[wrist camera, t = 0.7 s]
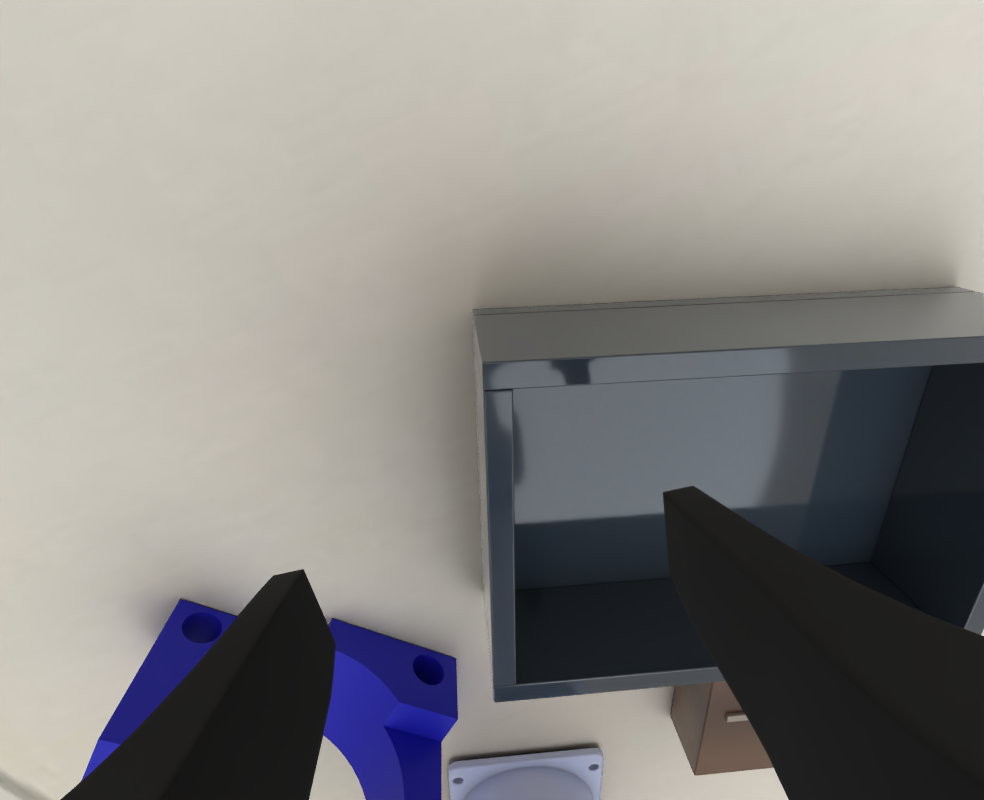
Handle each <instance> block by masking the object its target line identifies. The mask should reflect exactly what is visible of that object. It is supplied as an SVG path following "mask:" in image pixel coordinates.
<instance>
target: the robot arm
mask: <svg viewBox="0 0 984 800" xmlns="http://www.w3.org/2000/svg"><path fill="white" fill-rule="evenodd" d="M663 503H664V515H665V527H666V539H667V551H668V563H669V573H670V575H671V578H672V580H673V582H674V585H675V587H676V589H677V592H678V594H679V596H680V599H681V601H682V603H683V605H684V608H685V610H686V612H687V614H688V616H689V619H690V621H691V622H692V624H693V626H694V628H695V629H696V631H697V633H698V635H699V636H700V638H701V640H702V642H703V643H704V645H705V647H706V648H707V650H708V652H709V654H710V655H711V657H712V659H713V660H714V662H715V664H716V666H717V667H718V669H719V671H720V672H721V674H722V676H723V677H724V679H725V681H726V683H727V684H728V686H729V688H730V689H731V691H732V693H733V695H734V696H735V698H736V700H737V701H738V703H739V705H740V706H741V708H742V710H743V712H744V713H745V715H746V717H747V718H748V720H749V722H750V723H751V725H752V727H753V729H754V730H755V732H756V734H757V736H758V738H759V740H760V742H761V743H762V745H763V747H764V749H765V751H766V753H767V755H768V757H769V759H770V761H771V763H772V765H773V767H774V769H775V771H776V773H777V776H778V778H779V780H780V782H781V784H782V786H783V788H784V790H785V792H786V795H787V797H788V799H789V800H984V636H982V635H979V634H977V633H974V632H971V631H969V630H966V629H964V628H961V627H959V626H956V625H953V624H951V623H948V622H946V621H943V620H940V619H938V618H936V617H933V616H931V615H928V614H926V613H924V612H921V611H919V610H916V609H914V608H912V607H909V606H907V605H905V604H903V603H901V602H898V601H896V600H894V599H892V598H890V597H887V596H885V595H883V594H881V593H879V592H877V591H874V590H872V589H870V588H868V587H866V586H864V585H862V584H859V583H857V582H855V581H853V580H851V579H849V578H847V577H845V576H843V575H841V574H840V573H838V572H836V571H834V570H832V569H830V568H828V567H826V566H825V565H823V564H821V563H819V562H817V561H815V560H813V559H812V558H810V557H808V556H806V555H804V554H802V553H801V552H799V551H797V550H795V549H794V548H792V547H790V546H788V545H787V544H785V543H783V542H782V541H780V540H778V539H777V538H775V537H773V536H772V535H770V534H768V533H767V532H765V531H763V530H762V529H760V528H759V527H757V526H755V525H754V524H752V523H751V522H749V521H747V520H746V519H744V518H743V517H741V516H740V515H738V514H736V513H735V512H733V511H732V510H730V509H729V508H727V507H726V506H724V505H723V504H721V503H720V502H718V501H716V500H715V499H713V498H712V497H710V496H709V495H707V494H706V493H704V492H703V491H701V490H700V489H698V488H696V487H695V486H689V487H684V488H680V489H675V490H670V491H666V492H663ZM335 650H336V642H335V640H334V638H333V635H332V633H331V631H330V629H329V626H328V624H327V622H326V619H325V617H324V615H323V613H322V610H321V608H320V606H319V604H318V601H317V599H316V597H315V594H314V592H313V590H312V588H311V585H310V583H309V581H308V579H307V576H306V574H305V572H304V569H302V570H298V571H293V572H288V573H284V574H279V575H274V576H273V577H272V578H271V579H270V580H269V581H268V582H267V583H266V584H265V585H264V586H263V587H262V589H261V590H260V591H259V592H258V593H257V594H256V595H255V597H254V598H253V599H252V600H251V601H250V602H249V604H248V605H247V606H246V607H245V608H244V610H243V611H242V612H241V613H240V614H239V615H238V617H237V618H236V619H235V620H234V621H233V623H232V624H231V625H230V626H229V627H228V628H227V630H226V631H225V632H224V633H223V634H222V635H221V637H220V638H219V639H218V640H217V641H216V642H215V644H214V645H213V646H212V647H211V648H210V649H209V650H208V652H207V653H206V654H205V655H204V656H203V657H202V659H201V660H200V661H199V662H198V663H197V664H196V665H195V667H194V668H193V669H192V670H191V671H190V672H189V673H188V674H187V675H186V676H185V677H184V679H183V680H182V681H181V682H180V683H179V684H178V685H177V686H176V687H175V688H174V689H173V690H172V692H171V693H170V694H169V695H168V696H167V697H166V698H165V699H164V700H163V701H162V702H161V703H160V705H159V706H158V707H157V708H156V709H155V710H154V711H153V712H152V713H151V714H150V715H149V716H148V717H147V718H146V719H145V720H144V721H143V723H142V724H141V725H140V726H139V727H138V728H137V729H136V730H135V731H134V732H133V733H132V734H131V735H130V736H129V737H128V738H127V739H126V740H125V741H124V742H123V743H122V744H121V745H120V746H118V747H117V748H116V749H115V750H114V751H113V752H112V753H111V754H110V755H109V756H108V757H107V758H106V759H105V760H104V761H103V762H102V763H101V764H99V765H98V766H97V767H96V768H95V769H94V770H93V771H92V772H91V773H90V774H89V775H88V776H87V777H86V778H85V779H83V780H82V781H81V782H80V783H79V784H78V785H77V786H76V787H75V788H74V789H72V790H71V791H70V792H69V793H68V794H67V795H65V796H64V797H63V798H62V799H61V800H309V796H310V792H311V787H312V783H313V778H314V774H315V769H316V765H317V760H318V756H319V751H320V747H321V742H322V738H323V733H324V728H325V724H326V719H327V714H328V710H329V705H330V700H331V694H332V684H333V675H334V663H335ZM603 760H604V759H603V755H602V751H601V750H600V749H598V748H586V749H575V750H565V751H555V752H545V753H535V754H525V755H514V756H504V757H494V758H484V759H474V760H464V761H456V762H453V763H451V764H450V765H449V766H448V781H449V792H450V800H600V794H601V783H602V771H603Z"/></svg>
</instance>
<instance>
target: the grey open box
mask: <svg viewBox="0 0 984 800" xmlns="http://www.w3.org/2000/svg"><path fill="white" fill-rule="evenodd" d="M472 323H473V348H474V372H475V396H476V421H477V445H478V469H479V493H480V518H481V542H482V566H483V591H484V603H485V613H486V624H487V635H488V645H489V656H490V667H491V677H492V688H493V699H494V702H505V701H516V700H527V699H538V698H549V697H560V696H571V695H582V694H592V693H603V692H614V691H625V690H636V689H647V688H658V687H669V686H679V685H690V684H701V683H712V682H723V681H725V679H724V677H723V676H722V674H721V672H720V671H719V669H718V667H717V666H716V664H715V662H714V660H713V659H712V657H711V655H710V654H709V652H708V650H707V648H706V647H705V645H704V643H703V642H702V640H701V638H700V636H699V635H698V633H697V631H696V629H695V628H694V626H693V624H692V622H691V621H690V619H689V616H688V614H687V612H686V610H685V608H684V605H683V603H682V601H681V599H680V596H679V594H678V592H677V589H676V587H675V585H674V582H673V580H672V578H671V575H670V573H669V563H668V551H667V539H666V527H665V515H664V503H663V492H666V491H670V490H675V489H680V488H684V487H689V486H695V487H696V488H698V489H700V490H701V491H703V492H704V493H706V494H707V495H709V496H710V497H712V498H713V499H715V500H716V501H718V502H720V503H721V504H723V505H724V506H726V507H727V508H729V509H730V510H732V511H733V512H735V513H736V514H738V515H740V516H741V517H743V518H744V519H746V520H747V521H749V522H751V523H752V524H754V525H755V526H757V527H759V528H760V529H762V530H763V531H765V532H767V533H768V534H770V535H772V536H773V537H775V538H777V539H778V540H780V541H782V542H783V543H785V544H787V545H788V546H790V547H792V548H794V549H795V550H797V551H799V552H801V553H802V554H804V555H806V556H808V557H810V558H812V559H813V560H815V561H817V562H819V563H821V564H823V565H825V566H826V567H828V568H830V569H832V570H834V571H836V572H838V573H840V574H841V575H843V576H845V577H847V578H849V579H851V580H853V581H855V582H857V583H859V584H862V585H864V586H866V587H868V588H870V589H872V590H874V591H877V592H879V593H881V594H883V595H885V596H887V597H890V598H892V599H894V600H896V601H898V602H901V603H903V604H905V605H907V606H909V607H912V608H914V609H916V610H919V611H921V612H924V613H926V614H928V615H931V616H933V617H936V618H938V619H940V620H943V621H946V622H948V623H951V624H953V625H956V626H959V627H961V628H964V629H966V630H969V631H971V632H974V633H977V634H979V635H981V634H982V632H983V629H984V293H980V292H975V291H972V290H968V289H964V288H960V287H945V288H924V289H902V290H880V291H859V292H837V293H816V294H794V295H772V296H751V297H729V298H707V299H686V300H664V301H643V302H621V303H599V304H578V305H556V306H534V307H513V308H491V309H474V310H472Z"/></svg>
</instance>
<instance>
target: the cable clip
mask: <svg viewBox="0 0 984 800" xmlns="http://www.w3.org/2000/svg"><path fill="white" fill-rule="evenodd" d="M236 618H237V616H233V615H230V614H227V613H224V612H221V611H217V610H214V609H211V608H208V607H204V606H201V605H198V604H195V603H191V602H188V601H185V600H182V599H180V601H179V602H178V604H177V606H176V607H175V609H174V611H173V612H172V614H171V616H170V618H169V619H168V621H167V623H166V624H165V626H164V628H163V630H162V631H161V633H160V635H159V636H158V638H157V640H156V642H155V643H154V645H153V647H152V648H151V650H150V652H149V654H148V655H147V657H146V659H145V660H144V662H143V664H142V666H141V667H140V669H139V671H138V672H137V674H136V676H135V678H134V679H133V681H132V683H131V684H130V686H129V688H128V690H127V691H126V693H125V695H124V696H123V698H122V700H121V702H120V703H119V705H118V707H117V708H116V710H115V712H114V714H113V715H112V717H111V719H110V720H109V722H108V724H107V726H106V727H105V729H104V731H103V732H102V734H101V736H100V737H99V739H98V742H97V744H96V747H95V749H94V751H93V754H92V756H91V759H90V761H89V764H88V766H87V769H86V771H85V774H84V776H83V779H85V778H86V777H87V776H88V775H89V774H90V773H91V772H92V771H93V770H94V769H95V768H96V767H97V766H98V765H99V764H101V763H102V762H103V761H104V760H105V759H106V758H107V757H108V756H109V755H110V754H111V753H112V752H113V751H114V750H115V749H116V748H117V747H118V746H120V745H121V744H122V743H123V742H124V741H125V740H126V739H127V738H128V737H129V736H130V735H131V734H132V733H133V732H134V731H135V730H136V729H137V728H138V727H139V726H140V725H141V724H142V723H143V721H144V720H145V719H146V718H147V717H148V716H149V715H150V714H151V713H152V712H153V711H154V710H155V709H156V708H157V707H158V706H159V705H160V703H161V702H162V701H163V700H164V699H165V698H166V697H167V696H168V695H169V694H170V693H171V692H172V690H173V689H174V688H175V687H176V686H177V685H178V684H179V683H180V682H181V681H182V680H183V679H184V677H185V676H186V675H187V674H188V673H189V672H190V671H191V670H192V669H193V668H194V667H195V665H196V664H197V663H198V662H199V661H200V660H201V659H202V657H203V656H204V655H205V654H206V653H207V652H208V650H209V649H210V648H211V647H212V646H213V645H214V644H215V642H216V641H217V640H218V639H219V638H220V637H221V635H222V634H223V633H224V632H225V631H226V630H227V628H228V627H229V626H230V625H231V624H232V623H233V621H234V620H235V619H236ZM329 629H330V631H331V633H332V635H333V638H334V640H335V642H336V650H335V663H334V675H333V684H332V694H331V700H330V705H329V710H328V714H327V719H326V724H325V728H324V733H323V735H324V736H325V737H327V738H328V739H329V740H330V741H331V742H332V743H333V744H334V745H335V746H336V747H337V748H338V749H339V750H340V751H341V752H342V754H343V755H344V756H345V757H346V759H347V760H348V762H349V763H350V765H351V766H352V768H353V770H354V772H355V773H356V775H357V777H358V779H359V782H360V784H361V786H362V789H363V792H364V795H365V798H366V800H441V742H442V740H443V739H444V737H445V736H446V735H447V733H448V732H449V731H450V729H451V728H452V727H453V725H454V724H455V722H456V721H457V720H458V708H457V672H456V658H453V657H450V656H447V655H444V654H440V653H437V652H434V651H431V650H428V649H425V648H422V647H419V646H416V645H413V644H409V643H406V642H403V641H400V640H397V639H394V638H391V637H388V636H385V635H382V634H379V633H375V632H372V631H369V630H366V629H363V628H360V627H357V626H354V625H351V624H348V623H344V622H341V621H338V620H335V619H332V620H331V622H330V624H329ZM83 779H82V780H83Z"/></svg>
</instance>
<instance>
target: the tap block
mask: <svg viewBox="0 0 984 800" xmlns="http://www.w3.org/2000/svg"><path fill="white" fill-rule="evenodd" d="M671 719H672V721H673V724H674V726H675V729H676V731H677V733H678V736H679V738H680V741H681V743H682V746H683V748H684V751H685V753H686V756H687V758H688V761H689V763H690V766H691V768H692V771H693V773H694V775H706V774H715V773H725V772H735V771H744V770H754V769H764V768H774V767H773V765H772V763H771V761H770V759H769V757H768V755H767V753H766V751H765V749H764V747H763V745H762V743H761V742H760V740H759V738H758V736H757V734H756V732H755V730H754V729H753V727H752V725H751V723H750V722H749V720H748V718H747V717H746V715H745V713H744V712H743V710H742V708H741V706H740V705H739V703H738V701H737V700H736V698H735V696H734V695H733V693H732V691H731V689H730V688H729V686H728V684H727V683H726V681H723V682H712V683H701V684H690V685H679V686H676V687H675V693H674V699H673V706H672V712H671Z"/></svg>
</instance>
